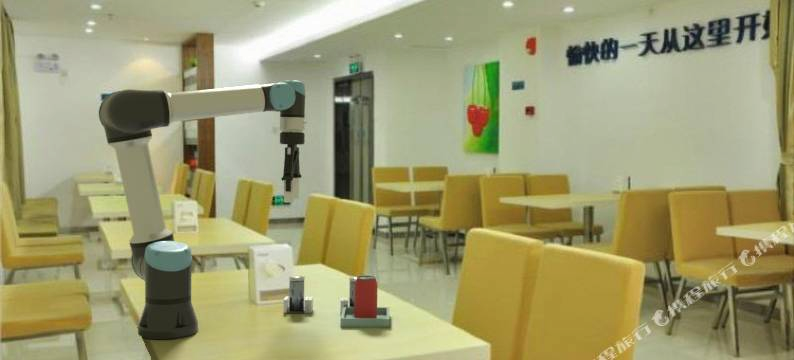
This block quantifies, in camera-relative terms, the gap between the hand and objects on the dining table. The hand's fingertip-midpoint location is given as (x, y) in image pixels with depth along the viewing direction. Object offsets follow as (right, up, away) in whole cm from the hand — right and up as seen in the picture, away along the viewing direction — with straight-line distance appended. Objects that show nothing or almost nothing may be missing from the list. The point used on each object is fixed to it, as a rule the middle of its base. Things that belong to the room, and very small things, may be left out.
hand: (291, 200), depth 217 cm
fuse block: (+11, -33, -6) cm, 36 cm away
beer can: (+24, -34, -15) cm, 44 cm away
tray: (+24, -34, -15) cm, 44 cm away
